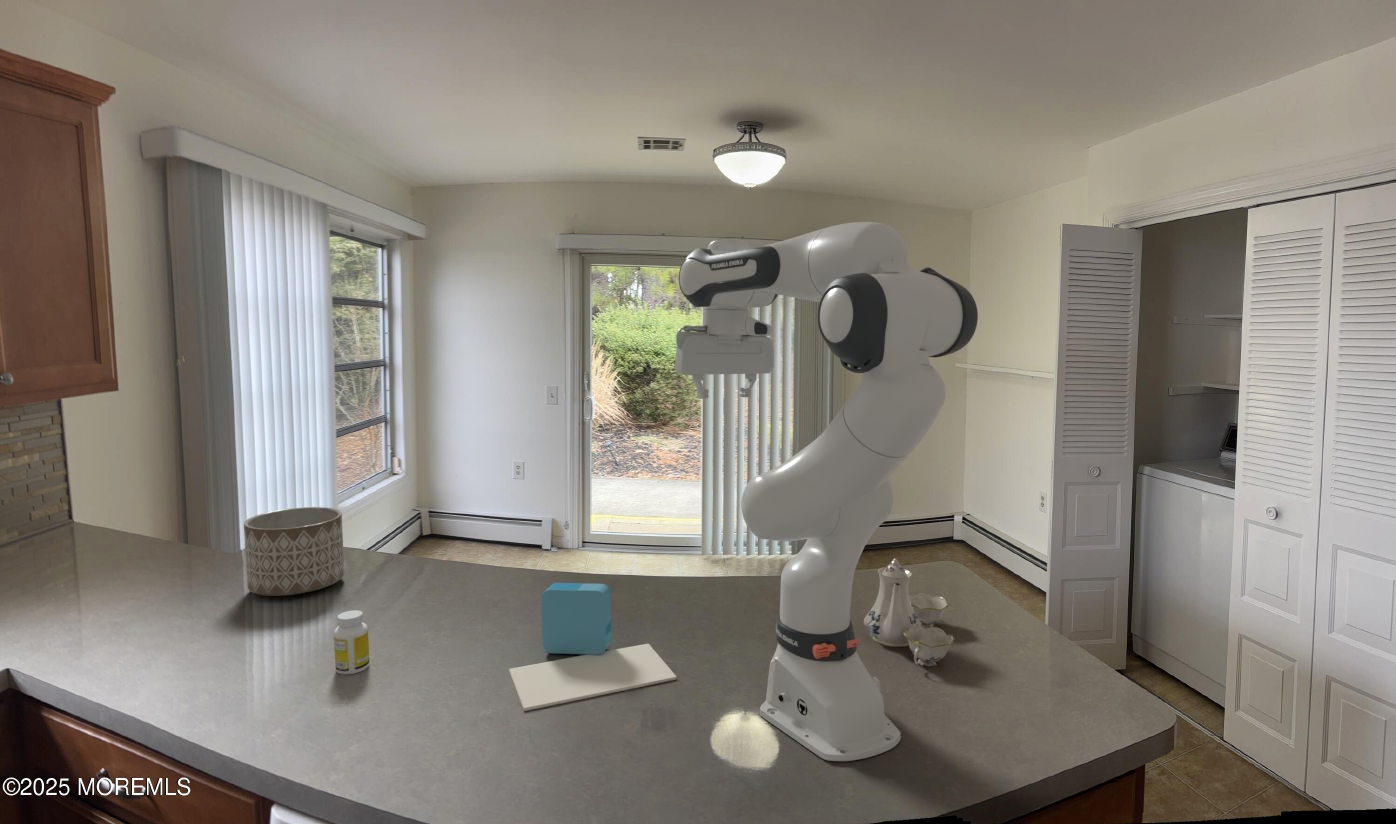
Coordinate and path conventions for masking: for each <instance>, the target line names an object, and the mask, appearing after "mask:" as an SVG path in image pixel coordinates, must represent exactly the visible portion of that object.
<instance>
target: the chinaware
mask: <svg viewBox="0 0 1396 824" xmlns="http://www.w3.org/2000/svg"><path fill="white" fill-rule="evenodd" d="M877 573H878V576H879V589H878V590H879V591H878V592H877V593H878V594H877V596H876V600H875V602H874V604H873V606H872V608H871V609H870V610H869V611H868V613H867V614H866V615H865V617H864V619H863V624H864V626H865V628H866V629H867V631H869V632H870V634H869V637H870V638H871V640H872V641H873V642H875V643H877V644H880V645H882V646H887V647H890V648H891V647H892V648H893V647H894V648H904V647H905V648H906V647H909V649H910V651H911V652H912V654H913V662H914V664H915V665H920V666H927V667H928V668H929V667H934V666H938V664H937V662H938V661H940V660H942V659H943V658H944V657H945V656H946V655H947V653H948V651H949V648H950V646H951V645H952V644H953V643H954V641H955V637H954V636H953V635H952V634H947V632H945V631H944V629H942V628H940V627H939V626H935V624H936V623H939V621H940V620H941V619H942V618H943V616H944V613H945V611H946V609H949V604H948V602H947V600H946V598H944V597H943V596H939V595H938V596H932V595H931V594H928V593H925V592H919V593H918V592H917V593H915V594H914V595H912V594H910V592H909V591H910V590H909V587H910V580H911V577H912V575H913V572H911V570H910V571H909V570H908V569H906V568H904V567H903V566H902V565H901V564H900V562H899V561H898V559H897V558H893V559H892V560H891V563H889V564H887V565H886V567H881V568H878V569H877Z"/></svg>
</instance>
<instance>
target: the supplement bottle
mask: <svg viewBox="0 0 1396 824" xmlns="http://www.w3.org/2000/svg"><path fill="white" fill-rule="evenodd" d="M336 619H337V627H336V628H335V629H334V630H333V646H334V663H335V671H336V672H337V673H338V674H339V675H353V674H357V673H360V672H363V671H364V670H366V669H367V668H368V667H369V666H370V646H369V645H370V644H369V642H370V641H369V628H368V625H367V624H366V623H365V622H363V621H364V614H363V611H361V610H356V609H355V610H347V611H343V612H342V613H339V614H338V615H337V618H336Z"/></svg>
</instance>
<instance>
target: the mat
mask: <svg viewBox="0 0 1396 824" xmlns="http://www.w3.org/2000/svg"><path fill="white" fill-rule="evenodd" d="M508 672H509V675H510V677H511V681H512V683H513V685H514V688H515V690H516V691H515V692H516V693H517V696H518V699H519V702H520V704H521V707H522V709H523V712H526V711H531V710H537V709H543V708H546V707H549V706H550V707H551V706H556V705H560V704H566V703H570V702H574V701H579V700H584V699H589V698H594V697H598V696H605V695H609V694H613V693H617V692H622V691H628V690H633V689H637V688H641V687H646V686H651V685H655V684H663V683H665V682H670V681H674V680H677V678H678V676H677V675H676V674H675V673H674V672H673V671H672V669H671V668H670V667H669V666H668V665H667V663H666V662H665V661H664V660H663V659H662V657H661V656H660V655H659V654H658V653H657V651H655V649H653V647H652V645H651V644H649V643H645V644H638V645H633V646H626V647H621V648H616V649H610V650H605V651H604V653H602V654H600V655H586V654H581V655H578V656H577V655H576V656H571V657H567V658H560V659H556V660H550V661H546V662H545V661H544V662H539V663H535V664H528V665H524V666H523V665H522V666H517V667H516V666H515V667H511V668H508Z"/></svg>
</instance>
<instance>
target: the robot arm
mask: <svg viewBox="0 0 1396 824" xmlns="http://www.w3.org/2000/svg"><path fill="white" fill-rule="evenodd" d="M678 285H679V289H680V292H681V293H682V295H683V296H684V297H685V299H687V301H688V302H689V303H690V304H691V305H692V306H693V307H694V308H702V312H703V313H702V325H688V324H687V325H684V326H683V327H681V328H679V329H678V330H677V332H676V339H675V340H676V341H675V342H676V346H677V347H676V349H675V350H676V351H675V359H674V370H675V371H676V372H677V374H678V375H684V376H691V377H692V378H691V380H692V382H693V384H694V385H695V388H696V390H697V399H700V400H701V399H702V400H705V399H709V389H706V388H705V387H704V385H703V383H702V382H703V381H704V379H705V378H704V377H705V375H706V376H707V375H708V376H709V375H710V376H711V375H744V379H745V380H746V381H745V384H744V386H743V387H740V388H739V389H740V390H739V391H740V393H739V394H740V397H741V398H751V396H752V388H753V386H754V385H755V383H756V382H757V375H758V374H759V375H760V374H761V375H764V374H766V375H767V374H771V372H772V371H773V369H774V363H775V362H774V361H775V360H774V356H775V355H774V354H775V353H774V352H775V351H774V343H773V341H772V339H771V338H770V337H769V336H771V335H772V332H773V331H772V330H773V329H772V326H771V324H769V323H767V322H763V321H762V320H758V319H756V318H754V317H751V316H750V309H749V308H764V307H767V306H768V307H769V306H770V305H771V304H772V303H774V301H776V300H777V298H778V296H779V295H780V296H785V297H791V298H794V299H795V298H796V299H799V300H805V301H809V302H810V301H811V302H816V303H817V302H818V303H819V304H818V309H817V324H818V329H819V333H820V335H821V337H822V338H823V340H824V342H825V343H826V345H827V346H828V348H829V350H830V351H831V352H832V353H833V354H834V355H835V356H836V357H837V358H839V360H840V361H839V362H840V364H841V366H842V367H843V368H845V369H846V370H848V371H850V372H852V373H853V374H861V378H860V382H859V384H858V385H857V387H856V388H855V390H854V391H853V392H852V393H851V395H850V396H849V398H848V399H846V401H845V403H844V404H843V406H842V407H841V408H840V410H839V411H838V412H837V413H836V415H835V416H834V418H833V419H832V420H831V422H830V423H829V424H828V426H827V427H826V428H825V429H824V430H823V432H822V433H821V434H820V435H819V436H817V437H816V438H815V439H814V440H813V441H812V442H810V443H809V444H808V445H806V446H805V447H804V448H803V449H800V450H799V452H796V453H795V454H794V455H792V456H791V457H790V458H788V459H786V460H785V461H784V462H782V463H781V464H779V465H778V466H776V467H774V468H772V469H770V470H768V471H765V472H764V473H760V474H759V475H756V476H753V477H752V478H751V479H750V480H749V481H748V482H747V484H746V486H745V488H744V489H743V493H742V496H741V503H740V504H741V514H742V516H743V520H744V522H745V525H746V526H747V528H748V529H749V531H750V532H751V533H752V535H754V536H755V537H757V538H758V539H760V540H768V541H778V542H795V541H802V540H806V541H805V543H804V545H803V547H802V548H801V549H800V551H798V553H797V554H795V555H794V556H793V557H792V558H791V559H790V560H789V561H787V563H786V564H785V565H784V567H783V569H782V572H781V575H780V594H779V595H780V598H779V599H780V600H779V601H780V602H779V613H778V616H777V617H776V618H777V619H776V624H775V631H776V634H775V635H776V641H777V646H776V649H775V652H774V653H773V657H772V658H771V660H770V663H769V671H768V679H767V685H766V687H767V689H766V697H765V701H764V702H763V703H762V704H761V705H760V708H759V716H760V717H762V718H763V719H765V720H766V721H768V722H769V723H770V724H772V725H773V726H775V727H776V728H778V729H779V730H780V731H782V732H783V733H784V734H786V735H787V736H788V737H790V738H792V739H793V740H794V741H796V742H798V743H799V744H800V745H803V746H804V747H805V748H806V749H808V750H809V751H811V752H812V753H813V754H815V755H816V756H817V757H819V758H821V759H822V760H826V761H829V762H830V761H832V762H851V761H856V760H862V759H863V760H864V759H866V758H867V759H868V758H870V757H874V756H877V755H879V754H882V753H883V754H884V753H885V752H887V751H889V750H892V749H893V748H894V747H896V746H897V745H898V744H899V742H900V741H901V740H902V736H901V735H902V733H901V731H900V729H898V728H897V726H896V725H895V724H894V723H893V722H892V721H891V719H889V718H888V716H886V714H885V702H884V697H883V694H882V693H881V689H882V688H881V687H882V686H881V682H880V680H879V679H878V678H877V677H876V676H871V674H870V672H869V671H868V669H867V668H866V666H865V664H864V662H863V661H862V659H861V658H860V655H859V654H858V651H857V649H858V647H860V646H861V644H859V643H858V642H860V641H861V638H856V636H855V634H856V633H855V630H854V628H853V622H852V621H851V607H852V605H851V603H852V593H853V582H854V577H855V571H856V569H857V566H858V562H859V560H860V558H861V555H862V554H863V551H864V548H866V547H865V546H866V545H867V543H868V542H869V540H870V539H871V537H872V535H873V534H874V533H875V531H876V530H877V529H878V528H879V527H880V526H881V525H882V524H883V523H885V522H886V520H887V519H888V518H889V516H890V515H891V512H892V508H893V504H894V503H893V502H894V494H893V489H892V486H891V483H890V481H889V480H888V479H889V478H890V477H891V476H892V474H894V472H895V471H897V469H898V468H899V466H900V465H901V464H902V463H904V461H905V460H906V459H907V458H908V456H909V455H910V454H911V453H912V452H914V450H915V449H916V448H917V446H919V444H920V443H921V441H922V440H923V439H924V437H925V436H926V435H927V433H928V432H929V430H930V429H931V427H932V426H933V424H934V422H935V421H936V419H937V417H938V416H939V414H940V412H941V410H942V407H943V406H944V402H946V400H945V399H946V386H945V382H944V380H943V378H942V376H941V375H940V373H939V372H938V370H937V369H936V368H935V367H934V366H933V365H931V363H930V360H929V359H930V358H941V357H945V356H949V355H951V354H953V353H956V352H958V351H961V349H963V348H964V347H966V346H967V345H968V344H969V343H970V342H971V340H972V338H974V337H973V336H974V335H975V333H976V330H977V326H978V319H979V315H978V314H979V313H978V307H977V304H976V301H975V298H974V297H973V295H972V293H971V292H970V291H969V290H968V289H967V288H966V287H965V286H963V285H961V284H960V283H958V282H957V281H954V280H952V279H950V278H948V277H946V276H944V275H942V274H941V273H939V272H937V271H936V270H935V269H933V268H932V267H925V268H923V269H921V270H916V269H914V268H913V267H911V266H910V264H909V263H908V253H907V247H906V244H905V241H904V239H903V237H902V236H901V234H900V233H899V232H898V231H897V230H896V228H894V227H892V226H890V225H888V224H887V223H883V222H877V221H855V222H847V223H840V224H835V225H830V226H828V227H824V228H821V229H818V230H814V231H811V232H807V233H805V234H801V235H798V236H794V237H792V238H791V237H790V238H788V239H785V240H780V241H776V242H773V243H770V244H766V245H763V246H760V247H754V248H751V247H750V246H749V244H748V242H747V240H744V239H742V238H739V237H732V236H731V237H723V238H718V239H717V238H716V240H712V241H711V242H710V243H709V244H708V246H707V248H702V247H697V248H696V249H694V250H693V251H691V252H690V254H688V255H687V256H686V258H685V259H684V260H683V262H682V263H681V265H680V268H679V272H678Z"/></svg>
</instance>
